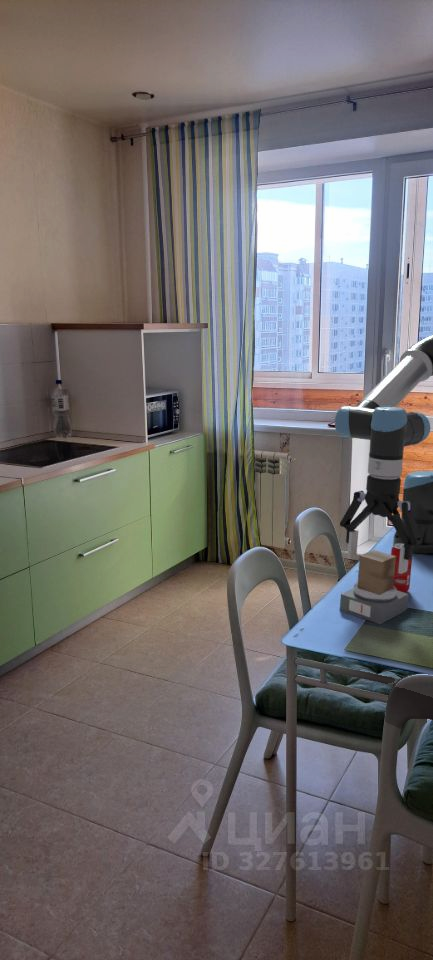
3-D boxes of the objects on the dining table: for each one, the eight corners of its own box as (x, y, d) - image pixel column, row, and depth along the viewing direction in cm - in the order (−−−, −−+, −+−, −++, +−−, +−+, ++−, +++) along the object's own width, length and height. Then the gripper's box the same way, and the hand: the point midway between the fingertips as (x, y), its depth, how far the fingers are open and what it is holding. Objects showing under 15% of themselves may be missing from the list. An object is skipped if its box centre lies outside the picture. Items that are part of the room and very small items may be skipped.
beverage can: (385, 592, 177) (389, 547, 175) (390, 585, 182) (394, 541, 179) (406, 596, 175) (410, 550, 172) (411, 589, 179) (415, 545, 177)
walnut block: (371, 581, 169) (373, 549, 168) (393, 588, 165) (395, 556, 164) (357, 587, 165) (359, 555, 163) (379, 595, 161) (382, 562, 159)
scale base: (367, 596, 174) (368, 581, 174) (407, 609, 167) (408, 593, 166) (338, 610, 166) (339, 594, 165) (379, 625, 158) (380, 608, 157)
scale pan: (368, 582, 172) (368, 577, 172) (404, 594, 166) (405, 588, 165) (345, 593, 165) (345, 587, 165) (382, 606, 159) (382, 599, 158)
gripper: (329, 468, 165) (323, 554, 169) (426, 488, 148) (417, 582, 153) (347, 464, 170) (341, 548, 175) (443, 483, 153) (433, 574, 158)
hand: (376, 564), depth 164 cm, fingers open, 13 cm apart
